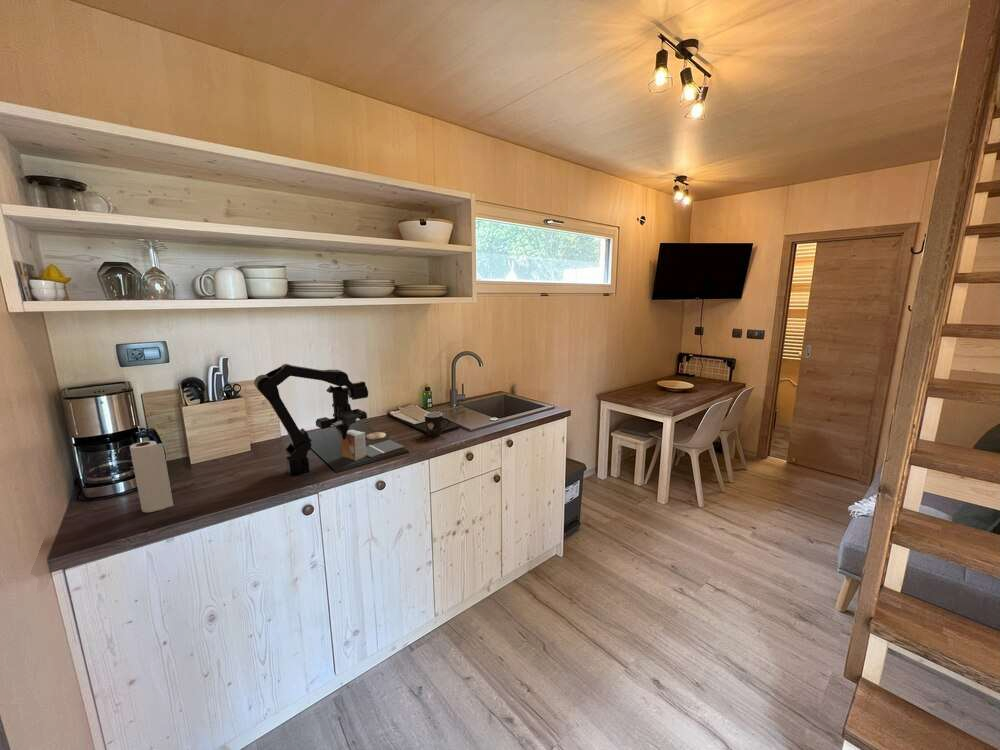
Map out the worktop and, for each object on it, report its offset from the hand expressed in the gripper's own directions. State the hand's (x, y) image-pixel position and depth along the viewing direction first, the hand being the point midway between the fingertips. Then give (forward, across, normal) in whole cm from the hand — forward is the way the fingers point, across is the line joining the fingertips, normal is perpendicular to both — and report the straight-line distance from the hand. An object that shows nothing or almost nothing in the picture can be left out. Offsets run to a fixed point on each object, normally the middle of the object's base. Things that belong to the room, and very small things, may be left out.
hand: (343, 439), depth 161 cm
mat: (+9, +16, 0) cm, 18 cm away
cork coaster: (+9, +22, +16) cm, 29 cm away
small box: (+9, +4, 0) cm, 10 cm away
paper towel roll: (+9, -59, +6) cm, 60 cm away
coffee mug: (+9, +43, -3) cm, 44 cm away
